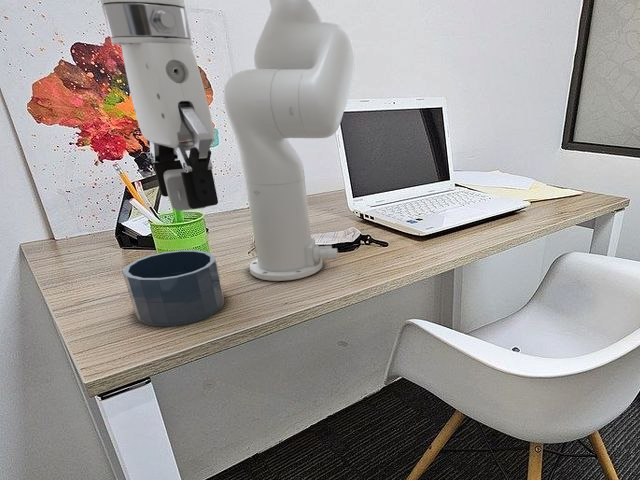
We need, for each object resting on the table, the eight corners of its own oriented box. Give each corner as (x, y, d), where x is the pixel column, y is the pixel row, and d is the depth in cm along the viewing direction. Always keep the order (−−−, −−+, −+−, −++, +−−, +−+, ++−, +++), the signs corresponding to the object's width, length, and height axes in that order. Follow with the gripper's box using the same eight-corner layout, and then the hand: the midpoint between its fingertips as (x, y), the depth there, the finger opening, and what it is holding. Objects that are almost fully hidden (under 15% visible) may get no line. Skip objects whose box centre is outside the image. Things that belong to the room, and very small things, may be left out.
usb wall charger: (204, 199, 60) (197, 167, 59) (212, 212, 55) (205, 177, 53) (170, 203, 59) (162, 170, 57) (175, 217, 53) (166, 181, 52)
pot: (205, 285, 78) (196, 244, 74) (237, 308, 70) (229, 264, 67) (126, 307, 70) (112, 263, 67) (152, 335, 63) (138, 287, 60)
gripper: (223, 26, 45) (254, 207, 54) (156, 34, 56) (190, 184, 64) (140, 21, 41) (187, 221, 49) (84, 31, 52) (130, 193, 60)
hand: (188, 199), depth 57 cm, fingers closed on usb wall charger, 7 cm apart
